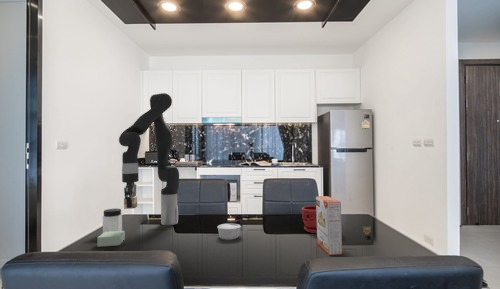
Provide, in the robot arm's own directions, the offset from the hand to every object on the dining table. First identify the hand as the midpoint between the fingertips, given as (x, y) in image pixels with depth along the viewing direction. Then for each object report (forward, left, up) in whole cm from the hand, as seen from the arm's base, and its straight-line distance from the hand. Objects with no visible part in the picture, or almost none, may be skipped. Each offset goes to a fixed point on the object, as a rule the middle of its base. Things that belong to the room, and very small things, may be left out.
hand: (130, 206), depth 140 cm
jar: (+11, -7, -15) cm, 20 cm away
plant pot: (-92, +10, -15) cm, 94 cm away
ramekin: (-48, +11, -15) cm, 51 cm away
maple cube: (0, 0, -1) cm, 1 cm away
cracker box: (-87, +37, -15) cm, 96 cm away
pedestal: (+6, +9, -15) cm, 18 cm away
